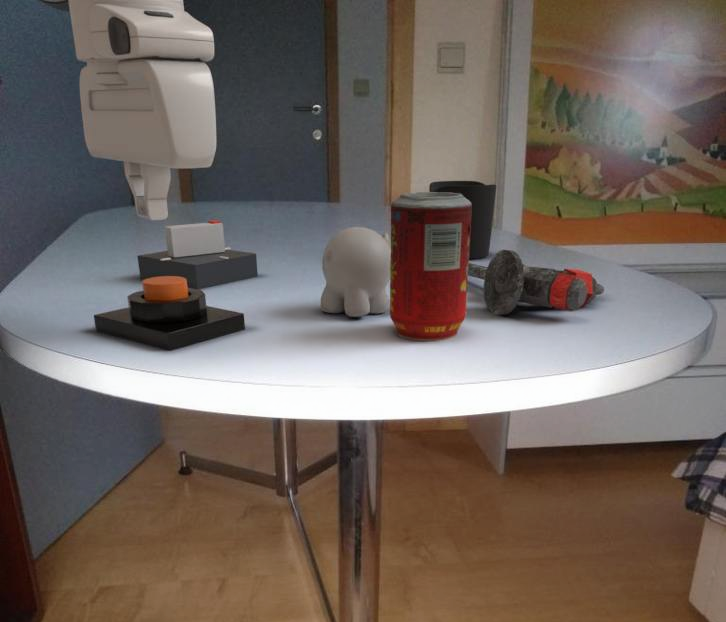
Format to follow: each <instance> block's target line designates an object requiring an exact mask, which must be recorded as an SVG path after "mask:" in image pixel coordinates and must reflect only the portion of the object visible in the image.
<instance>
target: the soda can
mask: <svg viewBox="0 0 726 622" xmlns="http://www.w3.org/2000/svg"><path fill="white" fill-rule="evenodd" d="M471 215H472V204H471V202H470V201H469V200H468V199H466V198H465V197H464V196H463V195H462V194H460V193H447V192H440V193H439V192H429V191H419V192H414V193H411V192H407V193H406V192H405V193H402V194H400V195H399V196H398V197H397V198H395V199H394V200H393V201H392V203H391V205H390V239H391V259H390V280H389V316H390V319H391V321H392V323H393V324H394V327H395V329H396V334H397V336H399V337H401V338H403V339H408V340H413V341H420V342H421V341H422V342H434V341H435V342H436V341H437V342H438V341H444V340H445V341H446V340H450V339H453V338H455V337H457V335H458V332H459V329H460V328H461V326H462V324H463V323H464V321H465V319H466V315H467V298H468V297H467V296H468V284H469V283H468V281H469V276H468V267H469V263H470V260H469V250H470V232H471Z"/></svg>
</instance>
